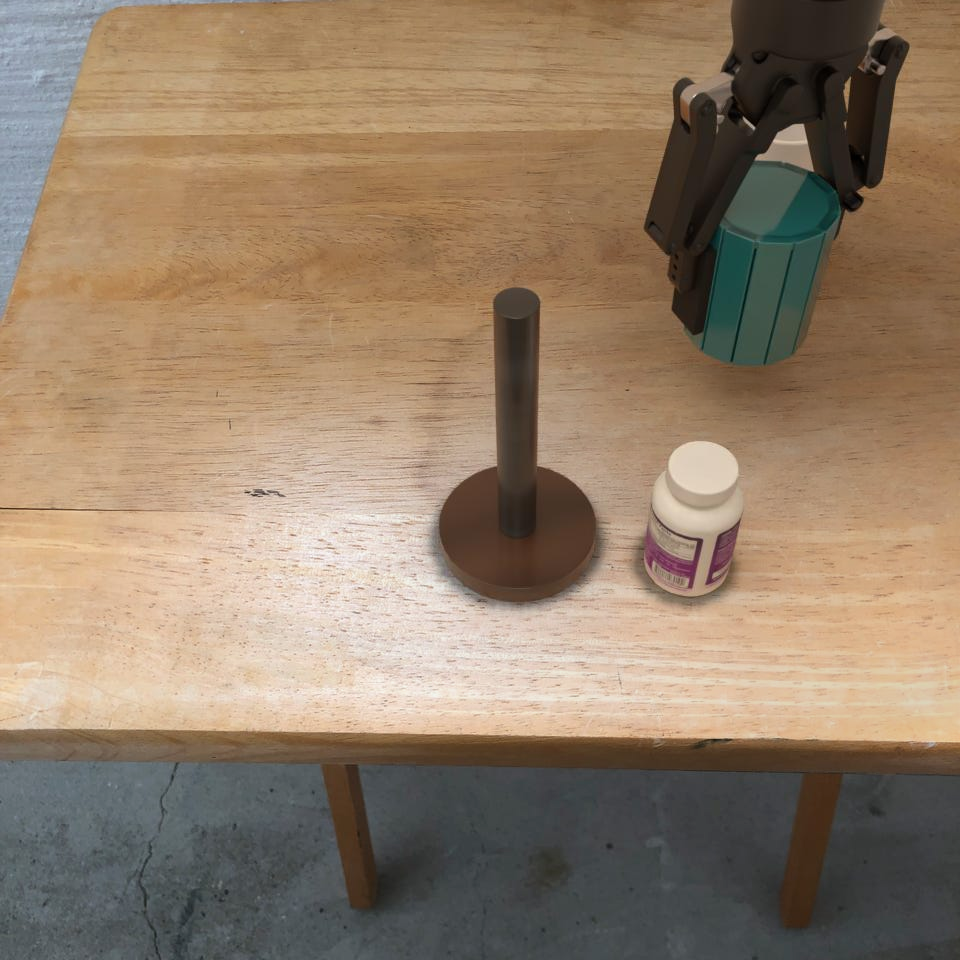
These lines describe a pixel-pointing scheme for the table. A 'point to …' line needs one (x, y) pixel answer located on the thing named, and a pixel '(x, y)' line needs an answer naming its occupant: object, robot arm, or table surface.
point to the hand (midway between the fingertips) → (744, 300)
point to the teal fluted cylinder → (768, 265)
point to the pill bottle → (694, 519)
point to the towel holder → (517, 484)
